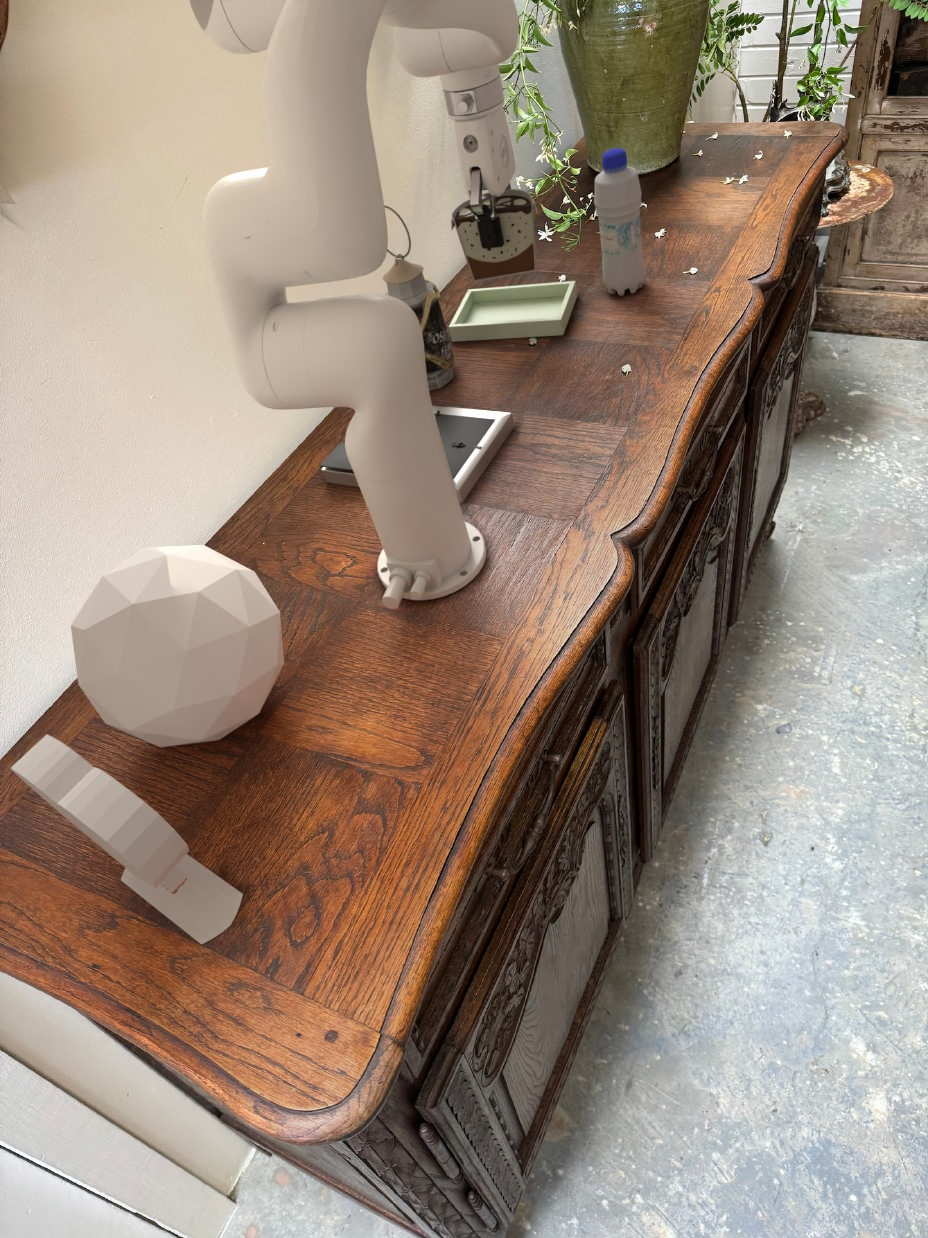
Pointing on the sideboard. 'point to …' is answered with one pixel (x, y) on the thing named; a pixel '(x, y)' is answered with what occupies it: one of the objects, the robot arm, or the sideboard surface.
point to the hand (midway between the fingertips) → (499, 233)
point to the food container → (516, 235)
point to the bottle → (619, 223)
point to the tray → (514, 312)
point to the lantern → (423, 314)
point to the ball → (178, 645)
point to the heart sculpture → (131, 839)
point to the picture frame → (446, 446)
